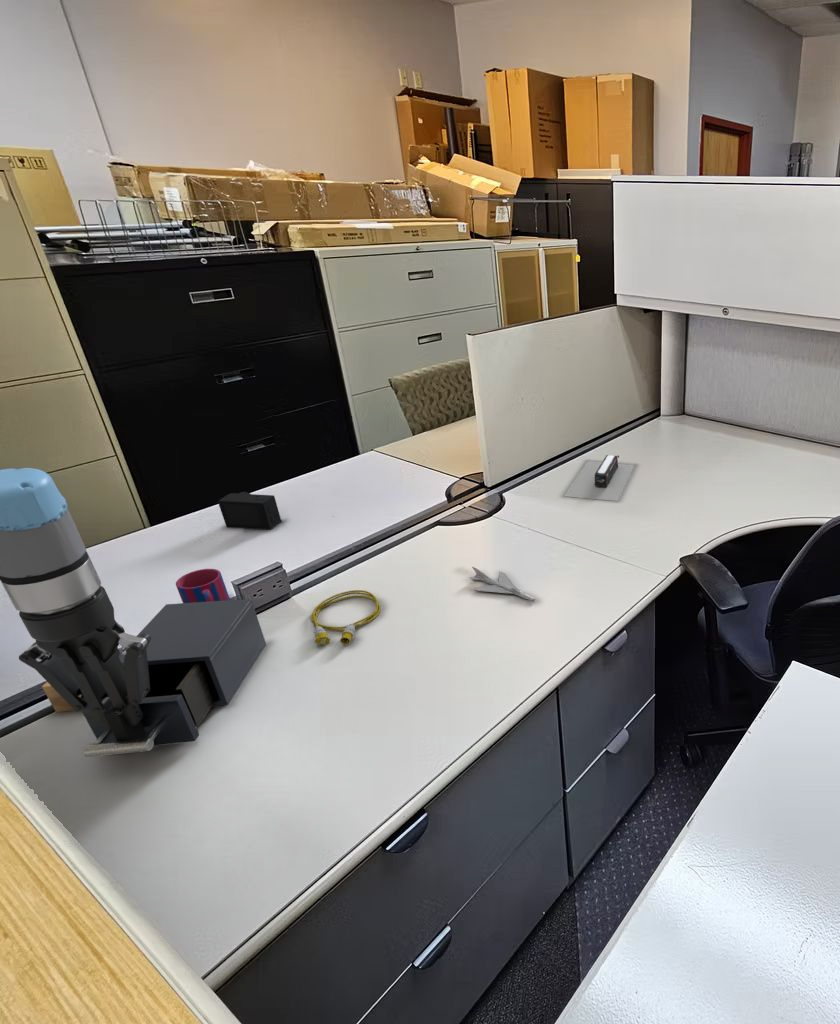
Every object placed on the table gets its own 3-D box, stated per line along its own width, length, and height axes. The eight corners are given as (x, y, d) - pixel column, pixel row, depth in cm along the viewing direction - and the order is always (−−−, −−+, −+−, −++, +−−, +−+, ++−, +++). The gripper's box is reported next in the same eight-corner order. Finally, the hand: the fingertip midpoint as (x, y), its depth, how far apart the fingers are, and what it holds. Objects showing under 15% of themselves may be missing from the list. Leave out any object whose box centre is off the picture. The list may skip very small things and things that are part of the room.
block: (55, 712, 92) (41, 686, 90) (78, 688, 96) (65, 663, 94) (94, 708, 93) (81, 683, 91) (115, 685, 97) (102, 661, 95)
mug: (228, 594, 120) (218, 564, 117) (236, 619, 113) (225, 589, 110) (186, 606, 116) (174, 575, 113) (190, 633, 109) (178, 601, 106)
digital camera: (285, 519, 147) (277, 492, 144) (271, 530, 142) (263, 502, 139) (242, 517, 147) (233, 490, 144) (226, 527, 142) (217, 500, 139)
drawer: (176, 770, 83) (156, 728, 79) (78, 780, 81) (53, 738, 77) (237, 676, 99) (223, 637, 96) (157, 682, 97) (139, 643, 93)
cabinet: (227, 704, 95) (208, 656, 90) (134, 713, 93) (110, 663, 88) (266, 644, 108) (251, 598, 103) (185, 650, 105) (166, 604, 101)
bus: (634, 465, 186) (634, 452, 184) (617, 501, 164) (617, 486, 162) (587, 461, 187) (587, 448, 185) (564, 496, 165) (563, 481, 163)
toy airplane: (521, 612, 119) (520, 602, 118) (445, 578, 128) (444, 569, 127) (548, 593, 125) (547, 583, 124) (473, 562, 134) (472, 553, 133)
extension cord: (281, 641, 108) (278, 632, 107) (339, 591, 122) (337, 583, 121) (345, 651, 107) (342, 642, 106) (396, 599, 121) (395, 591, 120)
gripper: (143, 576, 77) (202, 715, 88) (19, 583, 75) (95, 725, 85) (105, 612, 70) (174, 757, 81) (-31, 621, 68) (58, 770, 79)
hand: (134, 741), depth 83 cm, fingers closed
